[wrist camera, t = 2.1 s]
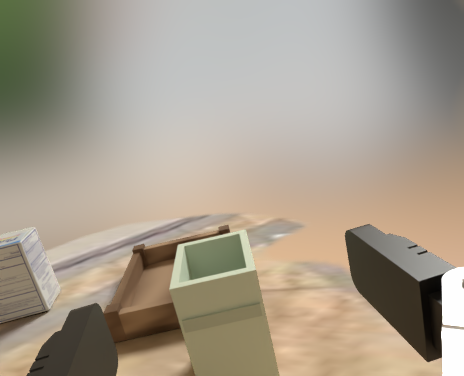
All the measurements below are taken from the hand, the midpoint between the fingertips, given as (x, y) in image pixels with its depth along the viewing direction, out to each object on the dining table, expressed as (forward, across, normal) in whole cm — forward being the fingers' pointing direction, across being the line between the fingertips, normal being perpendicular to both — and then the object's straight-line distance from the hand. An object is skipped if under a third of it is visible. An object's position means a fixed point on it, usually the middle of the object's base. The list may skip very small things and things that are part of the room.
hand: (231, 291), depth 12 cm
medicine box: (+30, +23, +13) cm, 40 cm away
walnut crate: (+25, +4, +13) cm, 28 cm away
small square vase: (+12, 0, +13) cm, 17 cm away
